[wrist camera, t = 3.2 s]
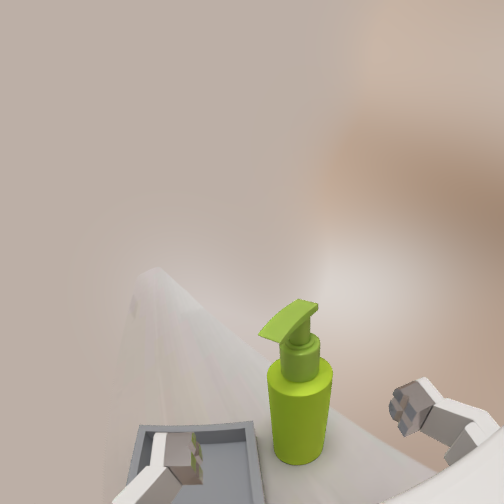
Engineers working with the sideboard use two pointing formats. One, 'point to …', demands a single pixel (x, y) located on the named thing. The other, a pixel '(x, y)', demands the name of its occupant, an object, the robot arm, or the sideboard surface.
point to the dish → (212, 463)
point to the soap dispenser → (297, 385)
